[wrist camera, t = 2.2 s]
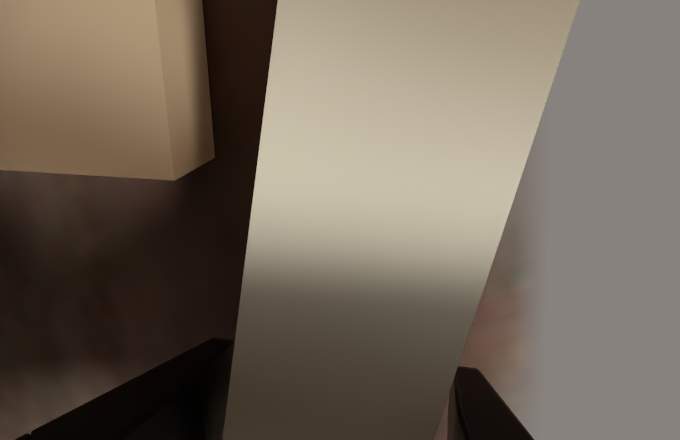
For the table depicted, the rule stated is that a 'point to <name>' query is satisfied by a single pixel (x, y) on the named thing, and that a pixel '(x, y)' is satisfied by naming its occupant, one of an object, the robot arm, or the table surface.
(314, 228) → the rod
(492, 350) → the table surface
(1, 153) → the balance board
